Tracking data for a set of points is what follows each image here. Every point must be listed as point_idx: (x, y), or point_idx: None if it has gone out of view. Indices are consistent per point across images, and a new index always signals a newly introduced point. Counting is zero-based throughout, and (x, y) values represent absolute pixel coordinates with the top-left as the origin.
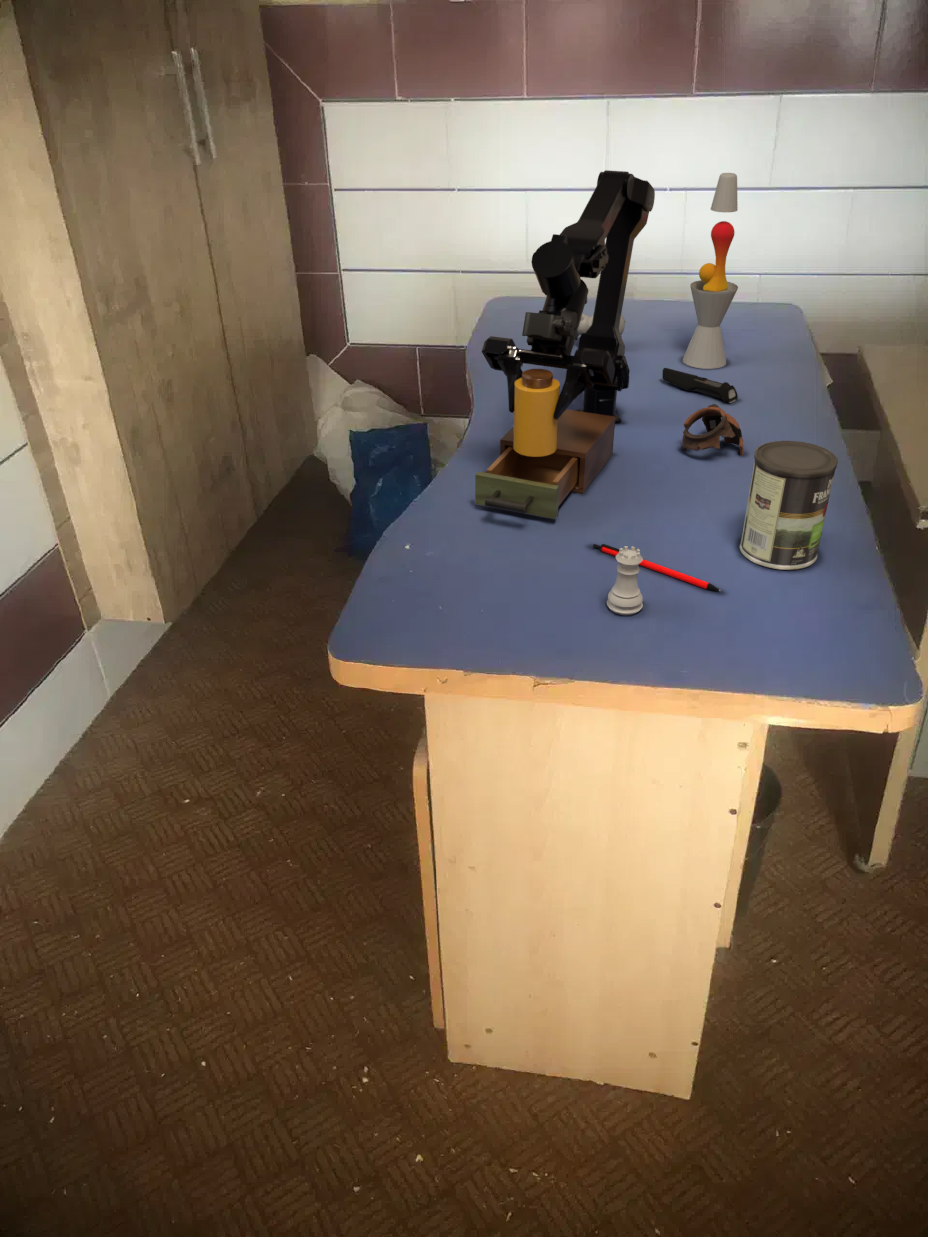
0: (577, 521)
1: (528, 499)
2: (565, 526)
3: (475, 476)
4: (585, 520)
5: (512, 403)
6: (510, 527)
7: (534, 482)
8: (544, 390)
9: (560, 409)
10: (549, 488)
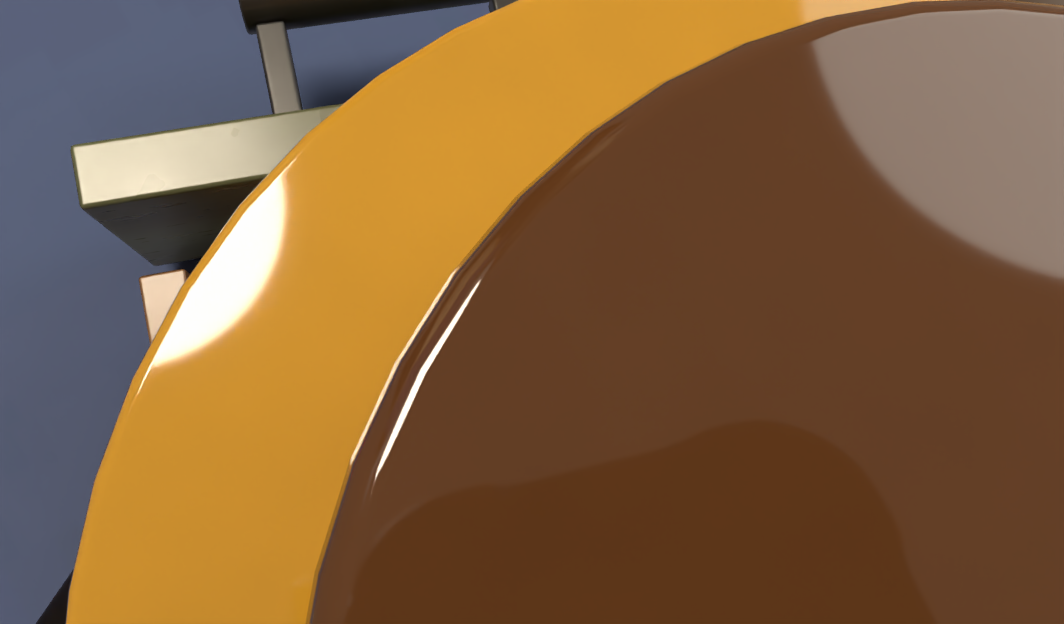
0: (56, 347)
1: (283, 89)
2: (92, 250)
3: None
4: (16, 388)
5: None
6: (365, 74)
7: (285, 152)
8: (310, 226)
9: None
10: (133, 136)
